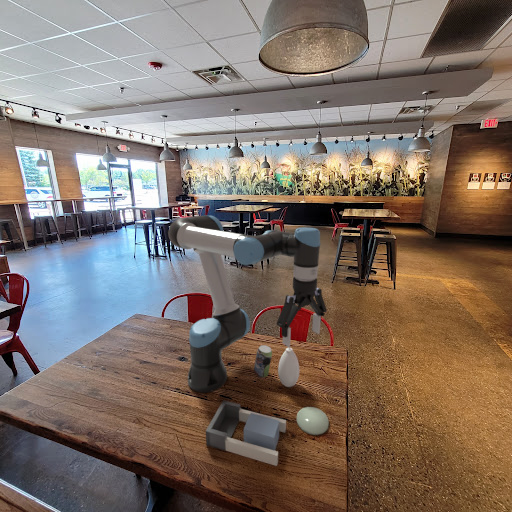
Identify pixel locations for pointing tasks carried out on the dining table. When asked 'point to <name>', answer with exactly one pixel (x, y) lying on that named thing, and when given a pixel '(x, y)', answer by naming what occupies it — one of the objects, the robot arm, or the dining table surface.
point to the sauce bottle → (288, 368)
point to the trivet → (312, 420)
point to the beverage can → (263, 361)
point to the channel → (251, 449)
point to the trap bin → (222, 425)
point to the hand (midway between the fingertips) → (301, 338)
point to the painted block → (261, 431)
